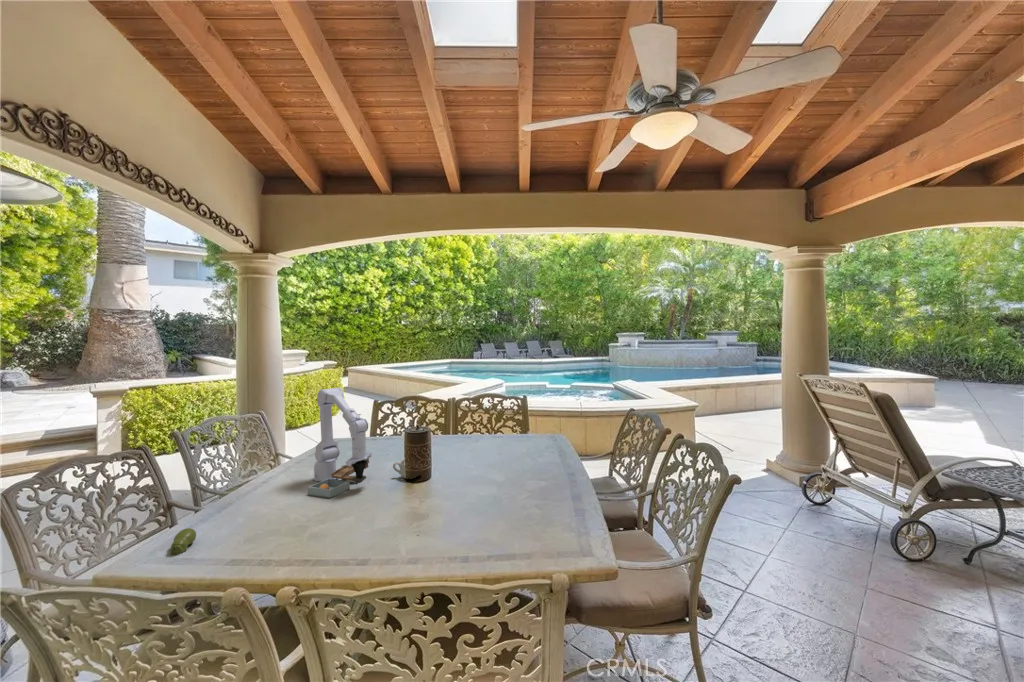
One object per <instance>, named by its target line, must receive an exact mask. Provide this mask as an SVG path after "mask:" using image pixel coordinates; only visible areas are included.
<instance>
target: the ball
mask: <svg viewBox="0 0 1024 682" xmlns="http://www.w3.org/2000/svg"><path fill="white" fill-rule="evenodd" d="M319 488H323V489H329V486H328V485H327V484H322V485H321V486H320V487H319Z"/></svg>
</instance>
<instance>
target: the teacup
mask: <svg viewBox="0 0 1024 682" xmlns="http://www.w3.org/2000/svg"><path fill="white" fill-rule="evenodd" d="M396 465H398V466H399V469H397V467H396ZM392 468H393V470H394V471H395V472H396V473H398V474H399V475H400V476H401V477H402V478H404V479H405V475H406V474H405V465H404V459H401V460H400V461H395V462H394V463H393V464H392Z"/></svg>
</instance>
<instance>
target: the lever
mask: <svg viewBox="0 0 1024 682" xmlns="http://www.w3.org/2000/svg"><path fill="white" fill-rule="evenodd" d="M369 459H370V458H368V459H366V460H367V464H366V466H365V468H364V470H365V469H367V468H369V463H370V460H369ZM344 465H345V466H344ZM344 465H342V466H343V467H341V466H340V468H338V469H336V471H335V472H333V473H331V474H332V478H337V479H338V480H342V479H347V480H353V481H356V482H361V481H363V482H364V481H365V479H367V476H366V475H363V476H362V478H357V477H356V475H355V476H353V475H352V474H354V473H355V470H354V468H353V466H352V465H351V466H346V464H344ZM361 483H362V482H361Z"/></svg>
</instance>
